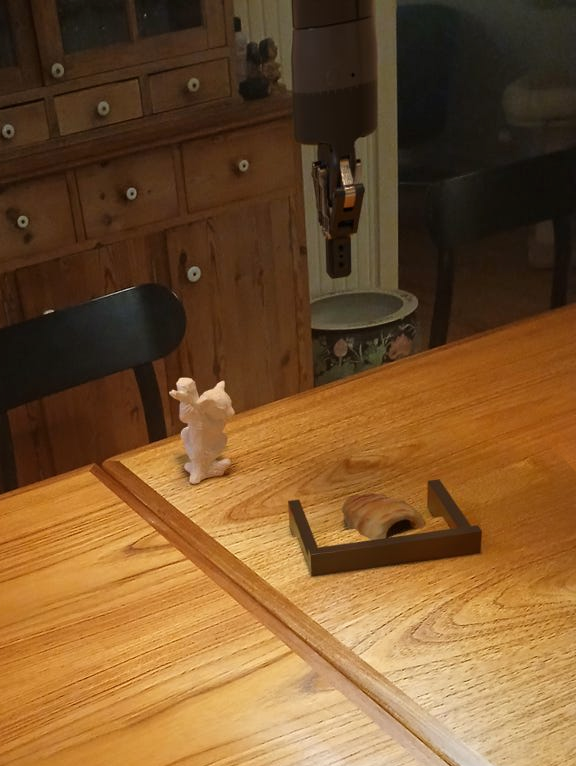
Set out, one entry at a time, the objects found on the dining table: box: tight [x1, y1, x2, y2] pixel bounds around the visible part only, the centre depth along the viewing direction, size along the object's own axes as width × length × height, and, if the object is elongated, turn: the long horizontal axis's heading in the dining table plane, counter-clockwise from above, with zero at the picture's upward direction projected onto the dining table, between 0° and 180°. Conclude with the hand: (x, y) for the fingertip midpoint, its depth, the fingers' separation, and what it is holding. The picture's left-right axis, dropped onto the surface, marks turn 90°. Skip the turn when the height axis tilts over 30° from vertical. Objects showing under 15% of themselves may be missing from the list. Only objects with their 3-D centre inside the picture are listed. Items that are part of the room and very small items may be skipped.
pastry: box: [341, 493, 427, 540], centre depth 99 cm, size 9×7×4 cm
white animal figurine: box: [168, 377, 236, 485], centre depth 114 cm, size 8×7×12 cm
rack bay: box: [287, 478, 483, 577], centre depth 96 cm, size 15×13×4 cm
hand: (338, 275), depth 99 cm, fingers closed
